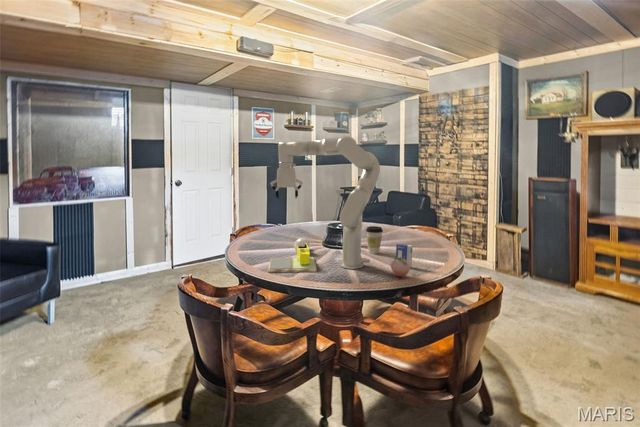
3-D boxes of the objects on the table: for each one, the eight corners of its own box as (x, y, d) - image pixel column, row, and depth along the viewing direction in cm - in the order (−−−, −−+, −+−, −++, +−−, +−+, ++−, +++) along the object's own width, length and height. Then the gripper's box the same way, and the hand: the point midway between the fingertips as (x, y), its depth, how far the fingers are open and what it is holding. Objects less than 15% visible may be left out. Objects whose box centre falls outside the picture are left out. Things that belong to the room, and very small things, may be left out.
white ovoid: (299, 258, 225) (302, 254, 240) (312, 248, 224) (315, 245, 239) (289, 244, 225) (293, 241, 240) (303, 235, 224) (306, 232, 239)
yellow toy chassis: (310, 265, 201) (310, 249, 200) (299, 265, 200) (299, 250, 199) (306, 256, 217) (306, 242, 215) (296, 257, 216) (296, 242, 214)
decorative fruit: (413, 277, 188) (414, 257, 186) (401, 281, 183) (402, 260, 181) (399, 272, 195) (400, 253, 194) (387, 275, 191) (388, 255, 189)
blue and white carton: (395, 266, 206) (396, 243, 204) (397, 264, 208) (398, 242, 206) (410, 268, 202) (411, 245, 200) (411, 267, 204) (412, 244, 202)
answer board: (314, 259, 218) (314, 256, 218) (316, 271, 196) (316, 268, 196) (270, 259, 216) (270, 257, 216) (268, 272, 195) (268, 269, 194)
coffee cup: (363, 250, 236) (364, 226, 234) (379, 250, 238) (380, 225, 235) (367, 255, 227) (368, 229, 224) (384, 254, 228) (384, 229, 225)
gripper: (302, 165, 211) (302, 196, 214) (269, 165, 210) (270, 197, 213) (302, 165, 204) (303, 198, 207) (269, 166, 202) (270, 199, 205)
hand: (287, 198), depth 210 cm, fingers open, 9 cm apart
